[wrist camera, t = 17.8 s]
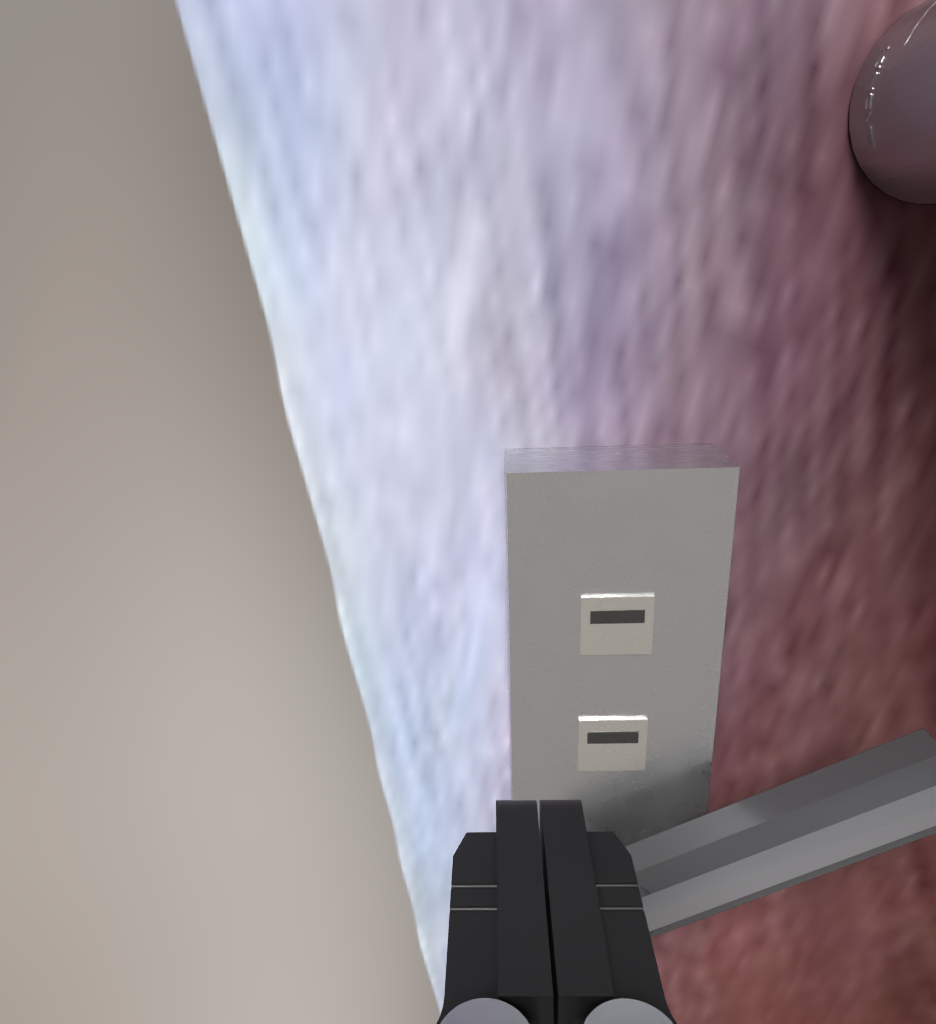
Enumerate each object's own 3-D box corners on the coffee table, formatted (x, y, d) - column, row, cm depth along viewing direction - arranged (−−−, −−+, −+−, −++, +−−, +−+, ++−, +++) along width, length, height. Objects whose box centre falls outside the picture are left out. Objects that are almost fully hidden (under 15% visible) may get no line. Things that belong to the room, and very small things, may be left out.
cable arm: (950, 793, 41) (987, 835, 38) (593, 928, 45) (600, 976, 42) (923, 728, 40) (959, 767, 37) (557, 873, 44) (562, 918, 41)
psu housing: (711, 443, 42) (751, 476, 35) (680, 826, 51) (707, 907, 45) (504, 448, 42) (507, 482, 36) (511, 827, 52) (514, 907, 45)
